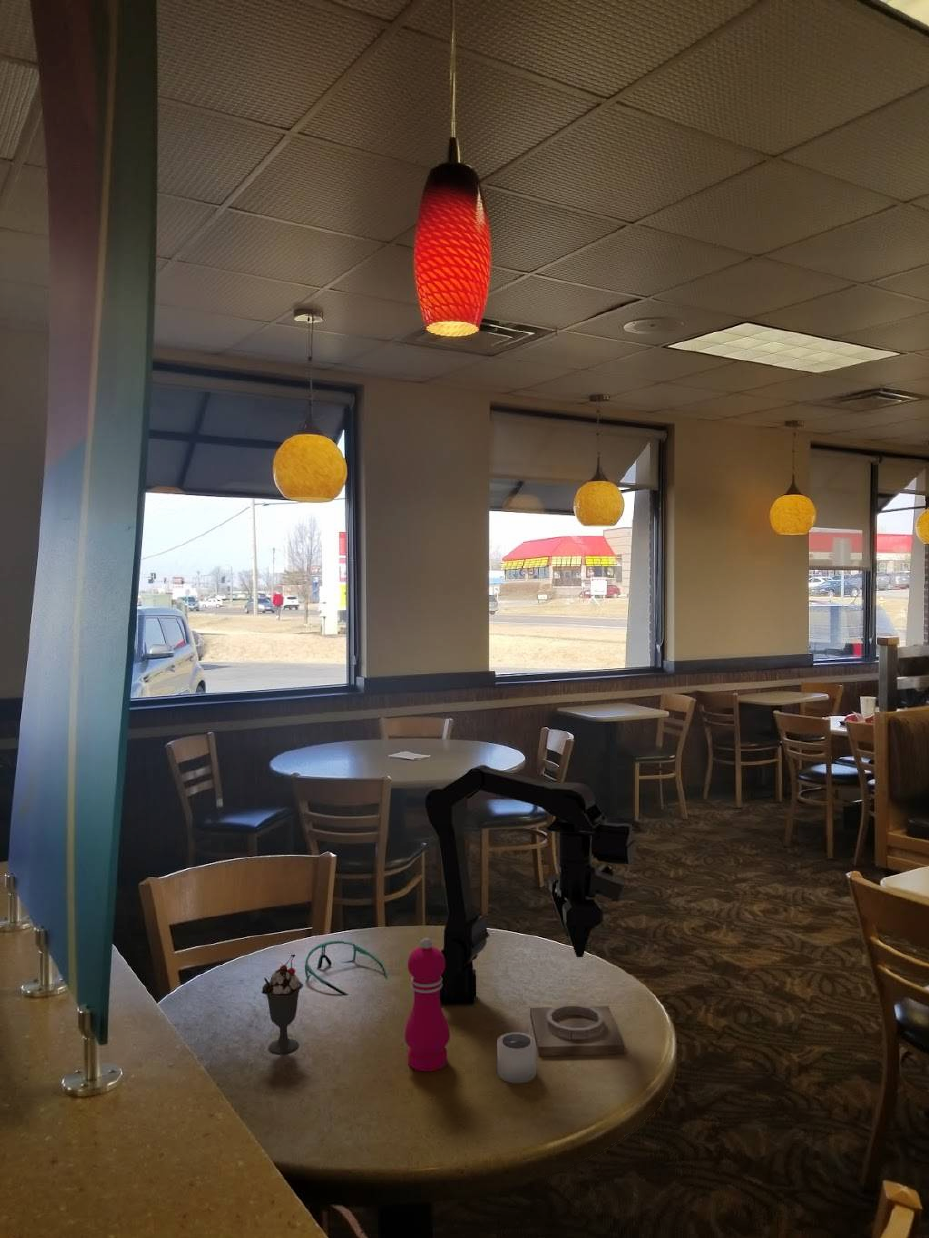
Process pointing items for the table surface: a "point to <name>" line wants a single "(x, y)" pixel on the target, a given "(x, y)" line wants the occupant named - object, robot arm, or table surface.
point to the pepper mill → (426, 1010)
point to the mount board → (575, 1030)
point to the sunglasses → (310, 971)
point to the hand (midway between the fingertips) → (574, 946)
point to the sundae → (283, 1005)
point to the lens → (516, 1057)
